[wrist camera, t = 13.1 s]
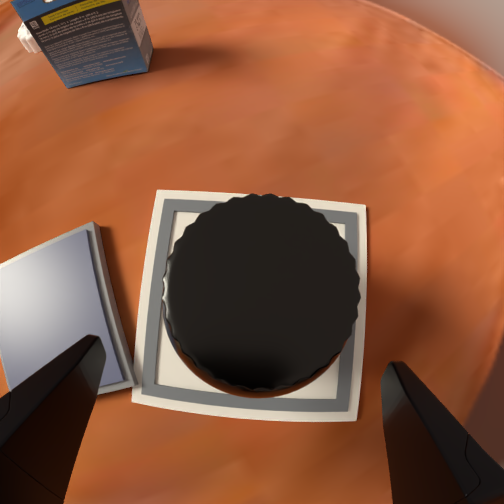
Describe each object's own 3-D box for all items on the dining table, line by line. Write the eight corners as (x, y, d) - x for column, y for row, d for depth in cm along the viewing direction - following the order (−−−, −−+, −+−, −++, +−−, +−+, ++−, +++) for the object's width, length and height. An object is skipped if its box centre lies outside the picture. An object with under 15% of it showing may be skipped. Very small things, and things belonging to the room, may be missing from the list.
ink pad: (140, 383, 18) (133, 386, 17) (22, 407, 17) (12, 410, 16) (99, 225, 21) (90, 219, 19) (-5, 273, 20) (-15, 270, 19)
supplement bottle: (183, 345, 19) (81, 362, 7) (223, 241, 20) (182, 125, 8) (292, 384, 18) (345, 461, 6) (329, 277, 19) (421, 203, 8)
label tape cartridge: (155, 47, 25) (124, -57, 13) (148, 73, 24) (108, -39, 12) (76, 64, 25) (29, -21, 13) (65, 91, 24) (8, 3, 12)
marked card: (354, 419, 18) (357, 421, 17) (133, 400, 18) (130, 402, 17) (364, 206, 21) (366, 203, 20) (158, 191, 21) (156, 188, 21)
